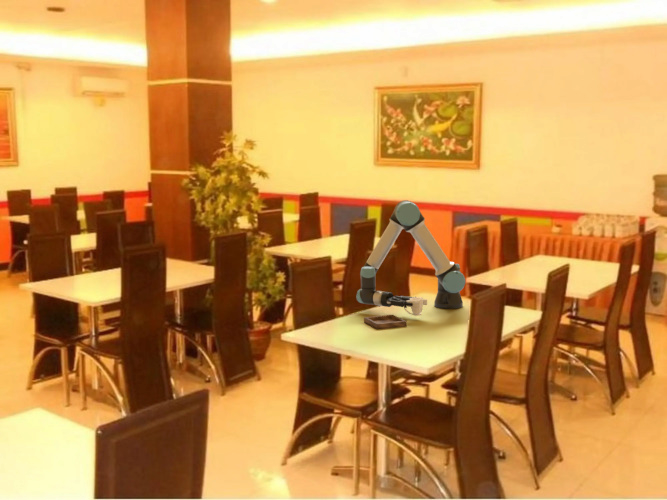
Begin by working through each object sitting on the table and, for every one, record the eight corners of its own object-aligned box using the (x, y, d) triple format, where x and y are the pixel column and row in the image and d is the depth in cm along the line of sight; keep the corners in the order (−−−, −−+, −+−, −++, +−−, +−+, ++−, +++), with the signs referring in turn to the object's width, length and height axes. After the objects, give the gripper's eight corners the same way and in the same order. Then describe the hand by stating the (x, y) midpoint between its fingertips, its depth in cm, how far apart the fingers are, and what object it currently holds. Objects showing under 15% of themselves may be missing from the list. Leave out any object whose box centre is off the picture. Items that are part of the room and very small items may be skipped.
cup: (422, 316, 348) (421, 300, 347) (402, 315, 352) (401, 300, 350) (425, 313, 355) (425, 297, 353) (406, 312, 358) (405, 296, 357)
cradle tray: (392, 319, 353) (392, 314, 353) (406, 326, 339) (406, 321, 339) (364, 322, 348) (364, 317, 348) (377, 329, 334) (377, 324, 333)
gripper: (394, 302, 372) (433, 307, 358) (373, 309, 356) (412, 315, 342) (394, 288, 371) (432, 293, 357) (372, 294, 355) (412, 299, 341)
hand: (422, 303), depth 349 cm, fingers closed on cup, 7 cm apart
